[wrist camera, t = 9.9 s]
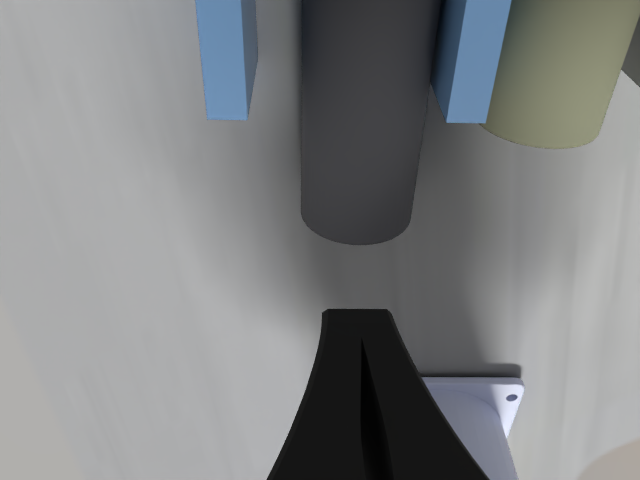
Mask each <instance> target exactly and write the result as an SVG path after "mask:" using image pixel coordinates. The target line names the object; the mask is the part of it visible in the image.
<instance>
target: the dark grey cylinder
mask: <svg viewBox="0 0 640 480" xmlns="http://www.w3.org/2000/svg"><path fill="white" fill-rule="evenodd" d="M441 3H442V0H302V132H301V215H302V218H303V220H304V222H305V223H306V225H307V226H308V227H309V228H310V229H311V230H312V231H314V232H315V233H317V234H318V235H320V236H322V237H324V238H326V239H329V240H332V241H335V242H339V243H344V244H351V245H369V244H376V243H381V242H385V241H388V240H390V239H393V238H395V237H396V236H398V235H399V234H401V233H402V232H403V231H404V230H405V229H406V228H407V226H408V225H409V222H410V219H411V212H412V205H413V198H414V191H415V184H416V177H417V170H418V163H419V156H420V149H421V142H422V136H423V129H424V122H425V115H426V108H427V101H428V94H429V87H430V80H431V73H432V66H433V59H434V52H435V45H436V38H437V31H438V24H439V17H440V10H441Z"/></svg>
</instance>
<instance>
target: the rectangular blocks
mask: <svg viewBox="0 0 640 480" xmlns="http://www.w3.org/2000/svg"><path fill="white" fill-rule="evenodd" d="M511 1H512V0H442V3H441V10H440V17H439V24H438V31H437V38H436V45H435V52H434V59H433V66H432V73H431V80H430V83H431V85H432V88H433V90H434V93H435V95H436V98H437V100H438V103H439V106H440V108H441V111H442V113H443V116H444V118H445V121H446V123H486V119H487V114H488V109H489V105H490V100H491V95H492V91H493V86H494V81H495V76H496V72H497V67H498V62H499V57H500V53H501V48H502V43H503V38H504V34H505V29H506V24H507V20H508V15H509V10H510V5H511ZM195 2H196V12H197V22H198V32H199V42H200V52H201V62H202V72H203V82H204V92H205V102H206V112H207V120H248V114H249V108H250V102H251V97H252V91H253V85H254V79H255V73H256V68H257V62H258V50H257V25H256V1H255V0H195ZM621 70H622V71H623V72H624V73H625V74H626V75H627V76H629V77H630V78H631V79H632V80H633V81H634V82H635V83H636V84H637V85H638V86H639V87H640V16H639V19H638V22H637V25H636V27H635V30H634V33H633V36H632V39H631V42H630V45H629V48H628V51H627V53H626V56H625V59H624V62H623V65H622V68H621Z"/></svg>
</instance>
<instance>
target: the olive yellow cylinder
mask: <svg viewBox="0 0 640 480" xmlns="http://www.w3.org/2000/svg"><path fill="white" fill-rule="evenodd" d="M639 16H640V0H512V1H511V5H510V10H509V15H508V20H507V24H506V29H505V34H504V38H503V43H502V48H501V53H500V57H499V62H498V67H497V72H496V76H495V81H494V86H493V91H492V95H491V100H490V105H489V109H488V114H487V119H486V123H479V124H480V125H481V126H482V127H483V128H484V129H486V130H487V131H489V132H490V133H492V134H494V135H496V136H498V137H500V138H503V139H505V140H508V141H511V142H514V143H518V144H522V145H526V146H531V147H538V148H548V149H564V148H573V147H578V146H582V145H585V144H587V143H590V142H591V141H593V140H594V139H595V138H596V137H597V136H598V134H599V132H600V129H601V126H602V123H603V120H604V117H605V114H606V111H607V108H608V106H609V103H610V100H611V97H612V94H613V91H614V88H615V85H616V82H617V79H618V77H619V74H620V71H621V68H622V65H623V62H624V59H625V56H626V53H627V51H628V48H629V45H630V42H631V39H632V36H633V33H634V30H635V27H636V25H637V22H638V19H639Z"/></svg>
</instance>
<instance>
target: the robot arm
mask: <svg viewBox="0 0 640 480" xmlns="http://www.w3.org/2000/svg"><path fill="white" fill-rule="evenodd" d="M524 391H525V386H524V383H523V381H522V380H521V379H519V378H514V377H421V376H420V374H419V372H418V370H417V368H416V367H415V365H414V363H413V361H412V359H411V357H410V355H409V353H408V351H407V349H406V347H405V345H404V343H403V340H402V338H401V336H400V334H399V332H398V329H397V327H396V324H395V322H394V319H393V316H392V314H391V313H390V312H389V311H388V310H387V309H327V310H326V311H324V312H323V313H322V327H321V335H320V340H319V345H318V349H317V353H316V357H315V361H314V365H313V368H312V371H311V374H310V378H309V381H308V384H307V387H306V390H305V393H304V396H303V399H302V401H301V404H300V406H299V409H298V411H297V414H296V416H295V419H294V421H293V424H292V427H291V429H290V431H289V434H288V436H287V438H286V440H285V443H284V445H283V447H282V449H281V451H280V454H279V456H278V458H277V460H276V462H275V464H274V466H273V468H272V470H271V472H270V474H269V476H268V478H267V480H518V476H517V473H516V470H515V466H514V463H513V460H512V456H511V453H510V449H509V446H508V443H507V438H508V435H509V432H510V429H511V427H512V424H513V421H514V418H515V416H516V413H517V410H518V407H519V405H520V402H521V399H522V396H523V394H524Z"/></svg>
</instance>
